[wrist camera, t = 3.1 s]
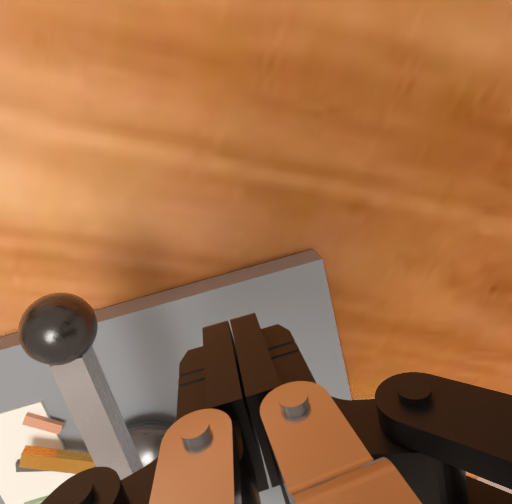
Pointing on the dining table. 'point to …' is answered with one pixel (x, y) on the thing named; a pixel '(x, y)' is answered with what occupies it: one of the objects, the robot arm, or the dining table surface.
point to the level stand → (162, 360)
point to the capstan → (83, 392)
